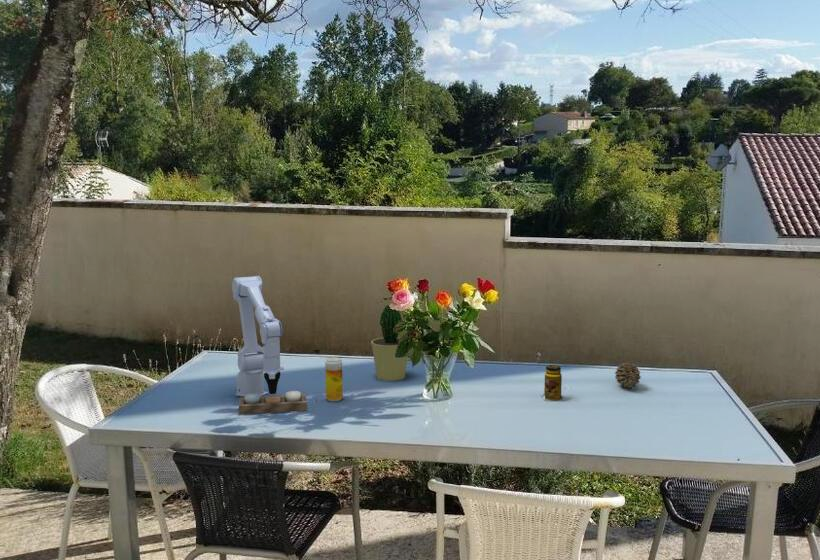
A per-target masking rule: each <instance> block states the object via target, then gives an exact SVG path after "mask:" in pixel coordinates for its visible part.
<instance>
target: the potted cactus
mask: <svg viewBox="0 0 820 560" xmlns="http://www.w3.org/2000/svg"><path fill="white" fill-rule="evenodd" d="M389 305H390V304H388V305H385V306H384V308H383V309H382V312H381V313H380V314H381V315H378V317H379V318H378V319H380V320H379V323H378V326H380V327H381V330H379V331H380V333H381V334H382V337H378V338H375V339H372V340H371V341H370V342H371V347H372V354H373V355H372V356H373V361H374V367H375V368H374V369H375V373H376V375H375V376H376V378H377V379H378V380H379V379H380V381H383V380H384V382H396V381H402V380H404V379H405V377H406V372H407V364H408V358H409V357H408V356H409V355H408V356H407V357H404V358H396V357H395V353H396V349H397V346H398V343H399V339H400V338H401V337H398V335H399V333H395V332H393V328H394V327H395V325H396V324H397V323H398V322H399V321H402V320H403V317H402V314H401V312H400V310H398V311H396V310H392V309H390V307H389Z"/></svg>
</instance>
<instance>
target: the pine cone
mask: <svg viewBox="0 0 820 560" xmlns="http://www.w3.org/2000/svg"><path fill="white" fill-rule="evenodd" d="M615 370H616V371H614V375H615V376H614V378H615V380H616V383H618V385H621V386H620V387H624V388H625V387H626V388H628V389H629V388H632V387H633V388H635V387H636V386H638V384H639V383H640V379H642V376H641V375H640V374H641V370H639V367H638V365H635V363H633V364H632V363H630V362H629V363H628V362H622V363H621V364H619V366H617V367H616V369H615Z"/></svg>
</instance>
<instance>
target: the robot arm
mask: <svg viewBox="0 0 820 560" xmlns="http://www.w3.org/2000/svg"><path fill="white" fill-rule="evenodd" d="M231 290H232V296H233V300H234V301H235V302H238V306H239V307H238V308H239V315H240V322H241V330H242V331H241V332H242V337H243V344H244V345H243V347H241V349H240V350H239V351H238V352H237V367H238V370H239V371H238V373H237V375H236V377H235V378H236V393H235V396H237V397H238V396H239V397H241V398H243V397H245V395H246V394H250V393H258V394H260V397H262V396H266V395H268V394H269V395H276V394H277V389H278V382H279V381H280V378H281V371H284V370H285V367H284V366H281V348H280V347H281V343H280V339H281V337H282V335H283V326H282V323H281V321H280V320H279V319H278V318H275V316H274V314H273V311H272V310H271V307H270V306H268V305H267V304H266V303H265V300H264V297H263V294H262V291H263V280H262V278H261V276H259V275H254V276H243V277H241V276H240V277H234V278H233V280H232V282H231ZM254 309H255V311H254ZM255 318H256V321H257V322H258V325H259V334H260V340H261V341H260V342H261V343H262V346H261V345H259V343H258V337H257V330H256V321H255ZM264 379H265V382H266V384H267V390H268V391H266V390H264Z"/></svg>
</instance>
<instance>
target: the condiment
mask: <svg viewBox="0 0 820 560" xmlns="http://www.w3.org/2000/svg"><path fill="white" fill-rule="evenodd" d="M561 370H562V367H561V366H560V365H557V364H550V365H549V364H548V365H546V367H545V373H544V393H542V394H543V395H541V398H543V396H545V400H544V401H545V402H557V401H558V402H560V401H561V402H562V401H565V398H564V397H563V396H562V380H563V379H562V377H563V375H562V373H561V372H562V371H561Z"/></svg>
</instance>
